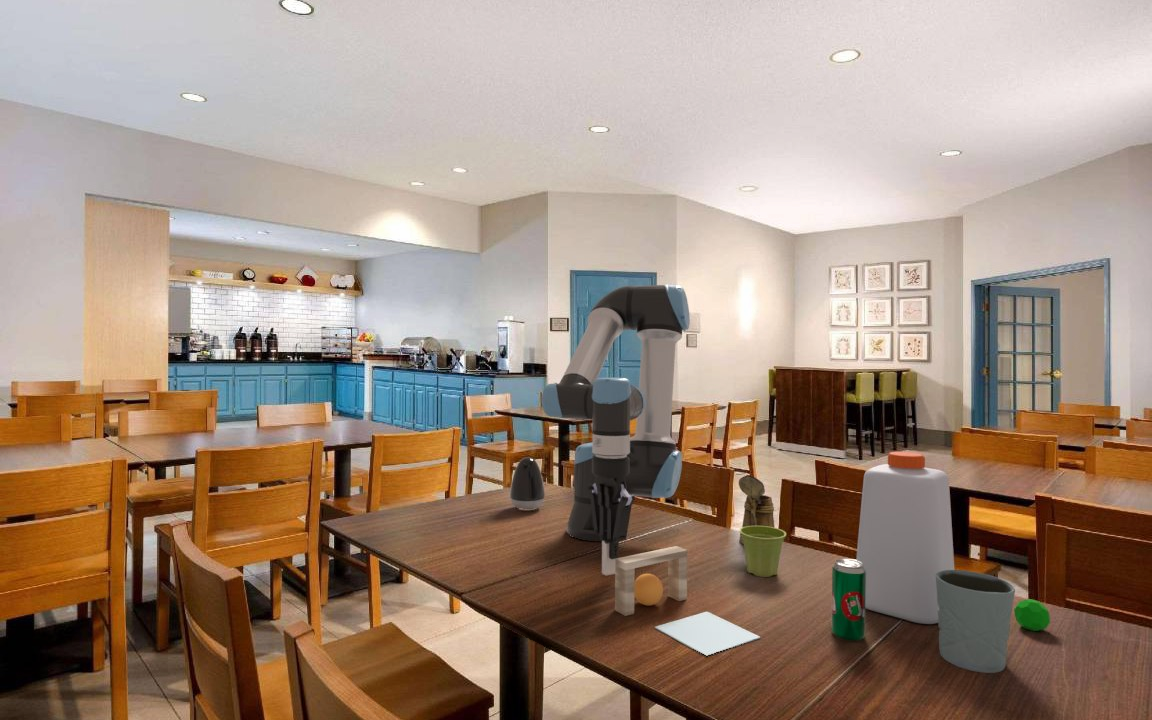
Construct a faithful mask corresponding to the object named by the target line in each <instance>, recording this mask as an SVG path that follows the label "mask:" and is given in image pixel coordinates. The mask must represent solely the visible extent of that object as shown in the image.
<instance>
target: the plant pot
mask: <svg viewBox="0 0 1152 720" xmlns="http://www.w3.org/2000/svg"><path fill="white" fill-rule="evenodd" d="M740 533H741V534H742V539H743V541H744V544H743V549H744V555H745V562H746V571H747V572H748V573H749V574H753V575H754V576H755V577H762V578H770V577H772V576H776V575H777V574H778V572H779V571H778V570H779V563H780V557H781V551H782V545H783V544H784V540H785V538H786V537H787V532H786V531H785V530H783V529H780V528H776V527H775V528H774V527H768V526H746V527H743V528H742V527H741V528H740V529H739V534H740Z"/></svg>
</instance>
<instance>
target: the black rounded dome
mask: <svg viewBox="0 0 1152 720" xmlns="http://www.w3.org/2000/svg"><path fill="white" fill-rule="evenodd" d="M542 475H543V474H542V472H541V468H540V467H539V464H538V463H537V461H536V460H535V459H534V458H532V457H523V458H521V459H520V460H519V461H518V463H517V464H516V467H515V470H514V473H513V476H512V480H511V484H510V485H511V486H510V489H509V491H510V492H509V498H510V501H511V504H512V506H513V505H514V506H515V507H518V508H523V509H534V508H538V507H539V508H541V506H542V504H543V503H544V498H545V497H546V491H545V484H544V483H545V482H544V480H543V476H542ZM515 507H514V508H515ZM539 508H538V509H539Z"/></svg>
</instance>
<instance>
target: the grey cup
mask: <svg viewBox="0 0 1152 720" xmlns="http://www.w3.org/2000/svg"><path fill="white" fill-rule="evenodd" d="M936 587H937V602H938V606H939V610H938V623H937V624H938V628H939V631H938V635H939V636H938V643H939V644H938V645H939V646H938V647H939V649H938V651H939V654H940V656H941V658H942V659H944V660H945V661H946V662H947V663H949V664H951V665H953V666H956V667H958V668H961V669H963V670H968V671H970V672H971V671H972V672H978V673H983V674H984V673H985V674H995V673H999V672H1002V671H1004V670H1005V668H1006V663H1007V653H1008V642H1007V641H1008V640H1009V637H1010V630H1011V629H1010V627H1011V624H1010V623H1011V619H1012V612H1013V605H1014V601H1015V593H1016V588H1015V586H1014V585H1013V584H1012V583H1010V582H1008V581H1006V580H1004V579H1002V578H999V577H996V576H994V575H990V574H986V573H982V572H977V571H969V570H963V569H962V570H960V569H954V570H944V571H940V572H938V573H937V574H936Z"/></svg>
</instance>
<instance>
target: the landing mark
mask: <svg viewBox="0 0 1152 720" xmlns="http://www.w3.org/2000/svg"><path fill="white" fill-rule="evenodd" d="M654 629H656V630H658V631H659V632H661V633H662V634H665V635H667V636H669V637H671V638H672V639H674V640H675V641H678V642H680V643H681V644H683V645H684V646H686V647H688V648H690V649H692V650H693V649H694V650H693V651H695V650H696V651H695V652H697V651H698V652H697V653H699V652H700V653H699V654H701V653H702V654H704V655H706V656H708V655H711V654H713V655H715V654H714V653H716V652H719V653H721V652H720V651H722V652H724V651H723V650H725V651H727V650H726V649H728V650H730V649H729V648H731V649H734V648H735V646H736V647H739V646H742V645H745V644H748V643H750V642H753V641H756V640H758V639H761V636H759V635H757V634H755V633H753V632H751V631H750V630H747V629H744V628H743V627H740V626H739V625H736V624H734V623H732V622H730V621H728V620H726V619H724V618H722V617H719V616H718V615H715V614H713V613H711V612H709V611H704V612H700V613H697V614H694V615H690V616H687V617H684V618H683V617H682V618H680V619H678V620H677V619H676V620H674V621H669V622H667V623H663V624H659V625H656V626H654ZM744 643H745V644H744ZM741 644H742V645H741ZM733 647H734V648H733ZM702 654H701V655H702ZM716 654H717V653H716ZM704 655H703V656H704ZM706 656H705V657H706ZM711 656H712V655H711ZM708 657H709V656H708Z"/></svg>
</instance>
